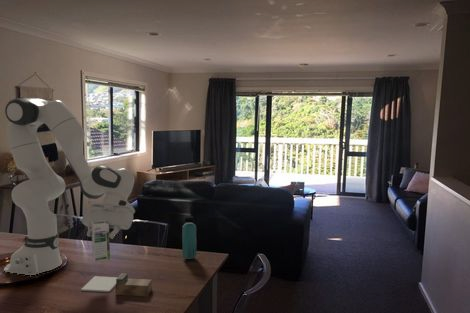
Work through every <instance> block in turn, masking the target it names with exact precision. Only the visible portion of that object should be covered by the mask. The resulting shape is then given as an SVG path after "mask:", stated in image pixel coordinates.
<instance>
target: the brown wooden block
mask: <svg viewBox="0 0 470 313" xmlns="http://www.w3.org/2000/svg"><path fill="white" fill-rule="evenodd" d="M117 277H118V278H117V279H116V284H115V285H116V286H115V295H117V296H120V295H121V296H135V297H149V295H150V294H151V292H152V290H153V279H149V278H148V279H147V278H146V279H145V278H140V279H139V278H129V275H128V273H125V272H122V273H120V274H119V275H118V276H117Z"/></svg>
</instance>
